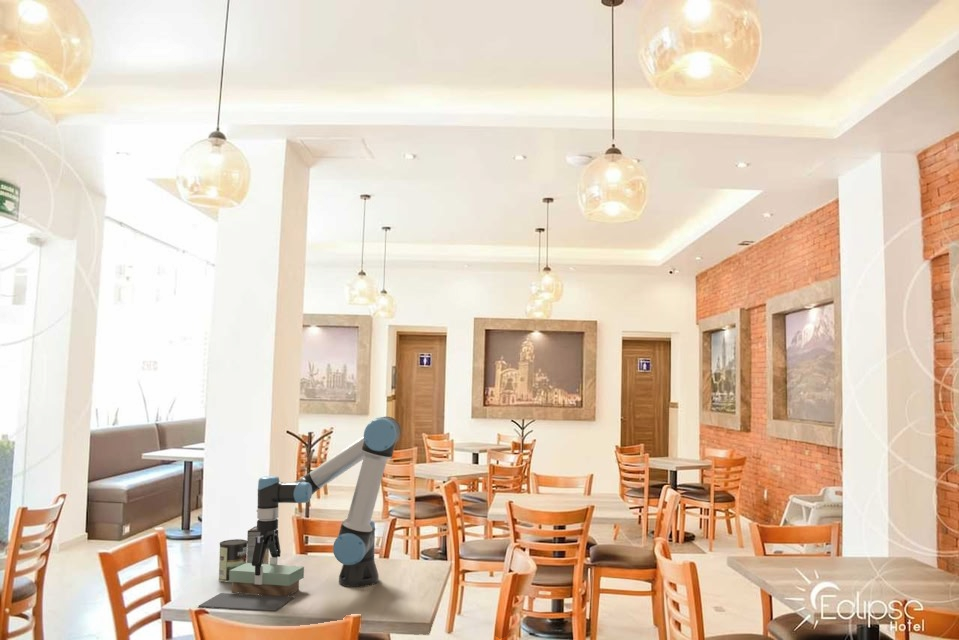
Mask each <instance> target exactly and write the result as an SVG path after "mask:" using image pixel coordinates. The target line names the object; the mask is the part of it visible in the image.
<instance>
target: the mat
mask: <svg viewBox="0 0 959 640" xmlns="http://www.w3.org/2000/svg"><path fill="white" fill-rule="evenodd" d="M293 599H295V596H291V595H289V596H272V595H258V594H246V593H234V592H231V593H230V592H229V593H228V592H227V593H226V592H219V593H218V594H216V595H215V596H214V597H211V598H209V599H207V600H206V601H204V602H202V603H201V604H199V605H198V606H199V607H198V608H202V609H204V607H206V608H207V609H209V608H208V607H214V608H213V609H219V608H229V609H228V610H239V611H240V610H241V611H259V612H260V611H261V612H274V613H275V612H277V611H278V610H281V608H283V607H284V606H286V605H287V604H288V603H290V602H291V601H293ZM206 608H205V609H206Z"/></svg>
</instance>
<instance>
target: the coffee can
mask: <svg viewBox="0 0 959 640" xmlns="http://www.w3.org/2000/svg"><path fill="white" fill-rule="evenodd" d="M218 561H219V563H218V566H219V567H218V581H219V580H220V581H219V582H221V581H227V582H226V583H230V582H229V572H230V570H232V569H234V568H236V567H238V566H241V565H243V564H245V563H247V539H239V538H237V539H235V538H234V539H227V540H222V541H220V542H219V560H218Z"/></svg>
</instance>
